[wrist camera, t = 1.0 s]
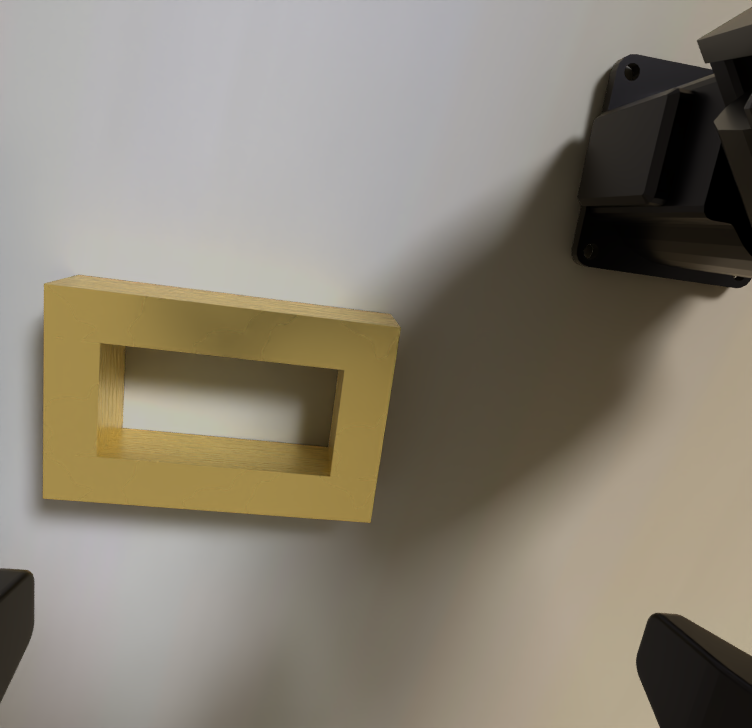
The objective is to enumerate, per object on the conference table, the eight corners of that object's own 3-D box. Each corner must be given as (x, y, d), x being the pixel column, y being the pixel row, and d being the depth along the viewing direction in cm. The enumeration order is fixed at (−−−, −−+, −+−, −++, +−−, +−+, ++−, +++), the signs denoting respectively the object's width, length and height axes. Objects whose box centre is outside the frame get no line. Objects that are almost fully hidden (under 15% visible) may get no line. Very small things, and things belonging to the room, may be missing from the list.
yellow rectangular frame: (390, 314, 19) (400, 327, 17) (363, 488, 21) (370, 522, 19) (78, 274, 18) (44, 283, 16) (75, 464, 20) (42, 498, 17)
